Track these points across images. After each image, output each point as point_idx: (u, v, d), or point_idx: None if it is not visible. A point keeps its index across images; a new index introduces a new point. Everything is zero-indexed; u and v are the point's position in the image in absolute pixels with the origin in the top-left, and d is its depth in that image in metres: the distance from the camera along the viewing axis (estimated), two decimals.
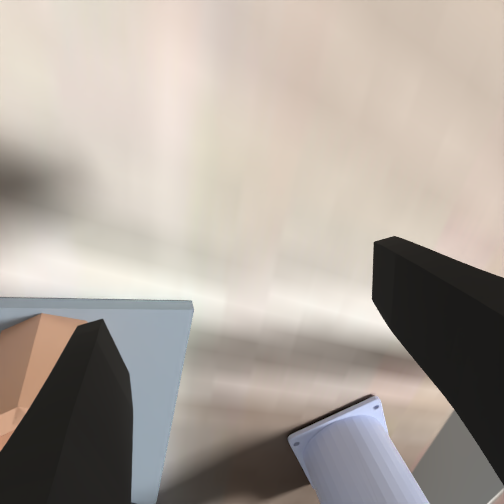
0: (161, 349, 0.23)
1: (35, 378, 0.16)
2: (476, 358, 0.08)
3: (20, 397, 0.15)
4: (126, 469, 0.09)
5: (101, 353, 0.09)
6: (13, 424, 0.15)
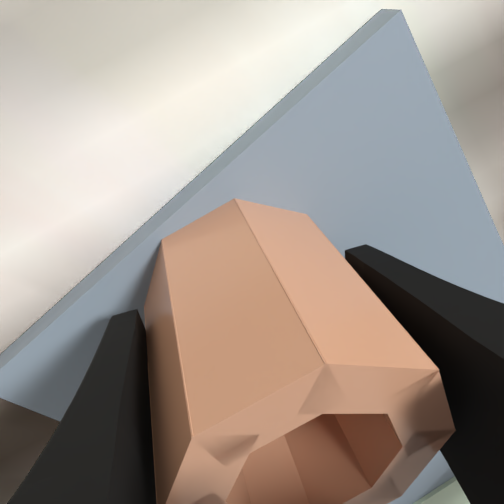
0: (400, 150, 0.10)
1: (200, 348, 0.07)
2: (439, 370, 0.08)
3: (187, 408, 0.06)
4: None
5: (138, 342, 0.09)
6: (228, 464, 0.06)
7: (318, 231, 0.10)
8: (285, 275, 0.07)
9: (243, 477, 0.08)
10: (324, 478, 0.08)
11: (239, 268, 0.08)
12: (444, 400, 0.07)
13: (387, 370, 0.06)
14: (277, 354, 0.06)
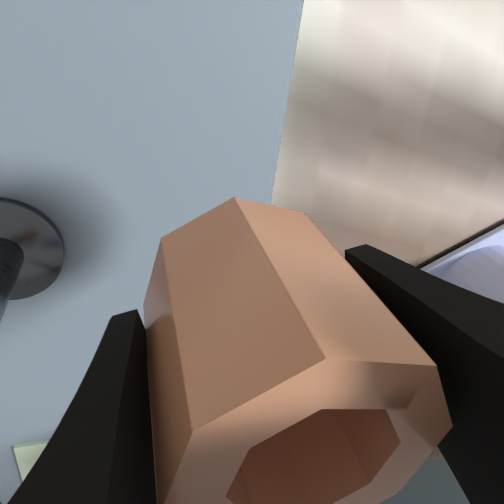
0: (255, 80, 0.15)
1: (200, 344, 0.07)
2: (439, 371, 0.08)
3: (188, 403, 0.06)
4: None
5: (138, 342, 0.09)
6: (228, 459, 0.06)
7: (317, 230, 0.10)
8: (285, 272, 0.07)
9: (242, 473, 0.08)
10: (323, 473, 0.08)
11: (239, 265, 0.08)
12: (441, 396, 0.07)
13: (385, 366, 0.06)
14: (277, 350, 0.06)
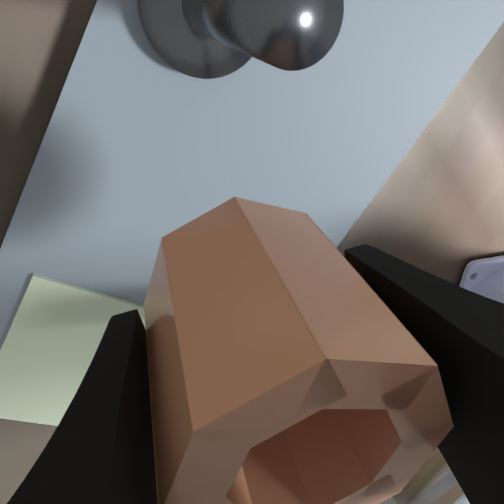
0: None
1: (201, 344, 0.07)
2: (439, 371, 0.08)
3: (189, 403, 0.06)
4: None
5: (138, 342, 0.09)
6: (229, 459, 0.06)
7: (317, 229, 0.10)
8: (285, 272, 0.07)
9: (243, 473, 0.08)
10: (323, 474, 0.08)
11: (239, 265, 0.08)
12: (443, 396, 0.07)
13: (387, 365, 0.06)
14: (278, 349, 0.06)
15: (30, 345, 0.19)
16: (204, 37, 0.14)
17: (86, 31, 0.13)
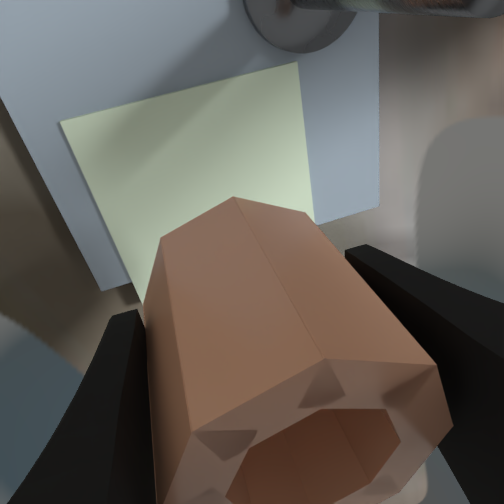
0: None
1: (199, 344, 0.07)
2: (439, 371, 0.08)
3: (187, 403, 0.06)
4: None
5: (138, 342, 0.09)
6: (228, 459, 0.06)
7: (316, 229, 0.10)
8: (284, 271, 0.07)
9: (242, 473, 0.08)
10: (323, 474, 0.08)
11: (238, 265, 0.08)
12: (442, 395, 0.07)
13: (385, 365, 0.06)
14: (276, 349, 0.06)
15: (127, 206, 0.16)
16: None
17: None
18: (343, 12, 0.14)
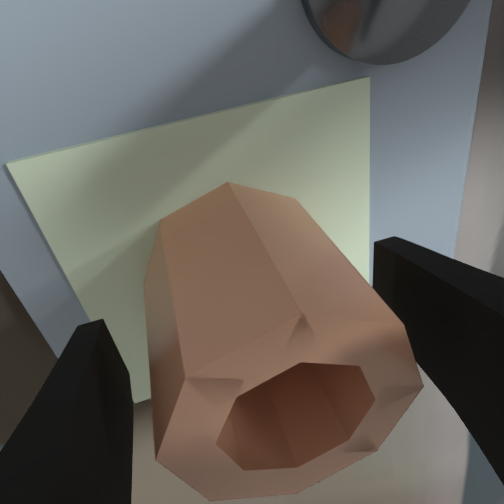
0: None
1: (193, 307, 0.07)
2: (476, 358, 0.08)
3: (182, 356, 0.07)
4: (126, 469, 0.09)
5: (101, 353, 0.09)
6: (217, 407, 0.07)
7: (305, 212, 0.11)
8: (271, 246, 0.08)
9: (233, 431, 0.09)
10: (307, 433, 0.09)
11: (230, 240, 0.09)
12: (411, 356, 0.08)
13: (357, 323, 0.07)
14: (261, 309, 0.07)
15: (113, 280, 0.11)
16: None
17: None
18: (448, 4, 0.09)
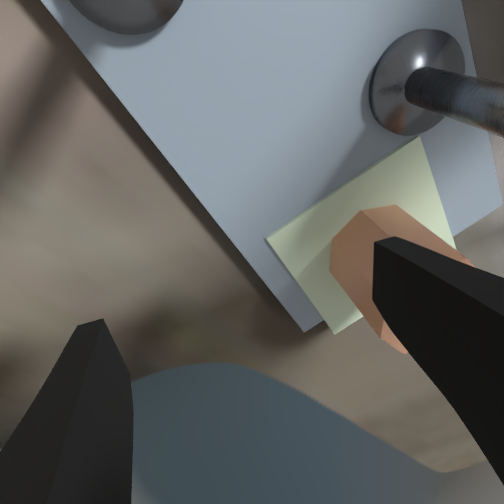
0: None
1: None
2: (476, 358, 0.08)
3: None
4: (126, 469, 0.09)
5: (101, 353, 0.09)
6: None
7: (405, 213, 0.21)
8: None
9: None
10: None
11: None
12: None
13: None
14: None
15: (315, 274, 0.22)
16: None
17: (107, 83, 0.15)
18: None
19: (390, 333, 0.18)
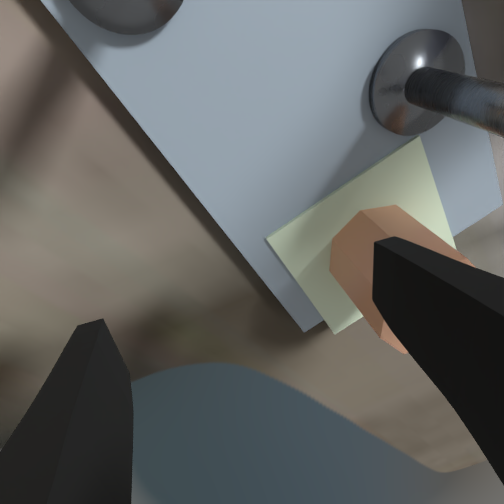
0: None
1: None
2: (476, 358, 0.08)
3: None
4: (126, 469, 0.09)
5: (101, 353, 0.09)
6: None
7: (405, 213, 0.21)
8: None
9: None
10: None
11: None
12: None
13: None
14: None
15: (315, 274, 0.22)
16: None
17: (107, 83, 0.15)
18: None
19: (390, 333, 0.18)
